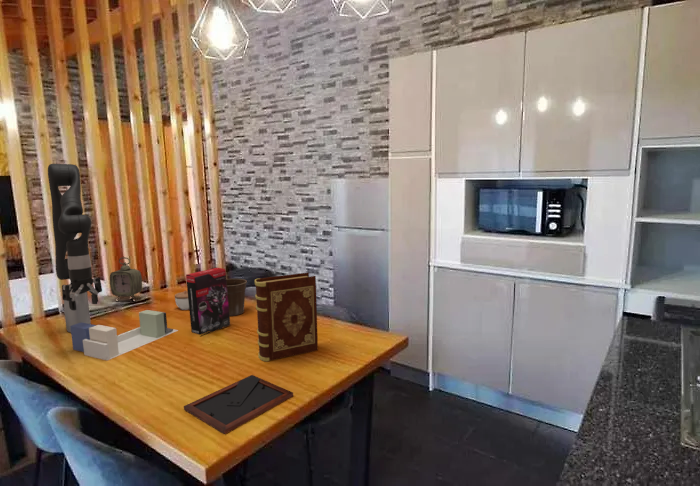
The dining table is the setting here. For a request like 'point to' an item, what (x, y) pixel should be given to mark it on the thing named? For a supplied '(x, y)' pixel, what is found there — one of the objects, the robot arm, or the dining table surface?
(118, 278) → the tabletop clock
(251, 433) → the dining table surface
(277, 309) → the decorative book
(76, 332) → the navy book
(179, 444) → the dining table surface
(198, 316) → the graphics card box
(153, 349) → the dining table surface
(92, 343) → the shelf board
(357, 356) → the dining table surface
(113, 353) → the ivory book
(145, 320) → the sage book
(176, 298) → the lidded jar
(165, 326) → the bookend
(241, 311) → the plant pot
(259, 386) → the picture frame
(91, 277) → the robot arm
